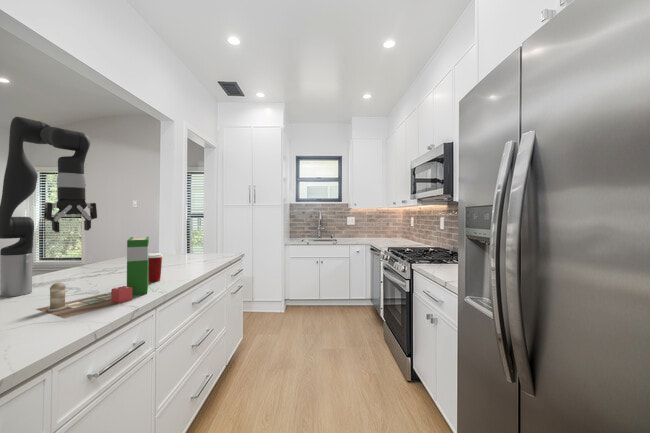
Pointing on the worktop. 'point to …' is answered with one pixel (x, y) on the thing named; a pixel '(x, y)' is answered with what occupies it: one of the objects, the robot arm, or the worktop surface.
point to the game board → (83, 305)
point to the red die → (121, 294)
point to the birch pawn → (57, 298)
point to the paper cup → (155, 267)
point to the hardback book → (138, 265)
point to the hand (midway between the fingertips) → (72, 231)
